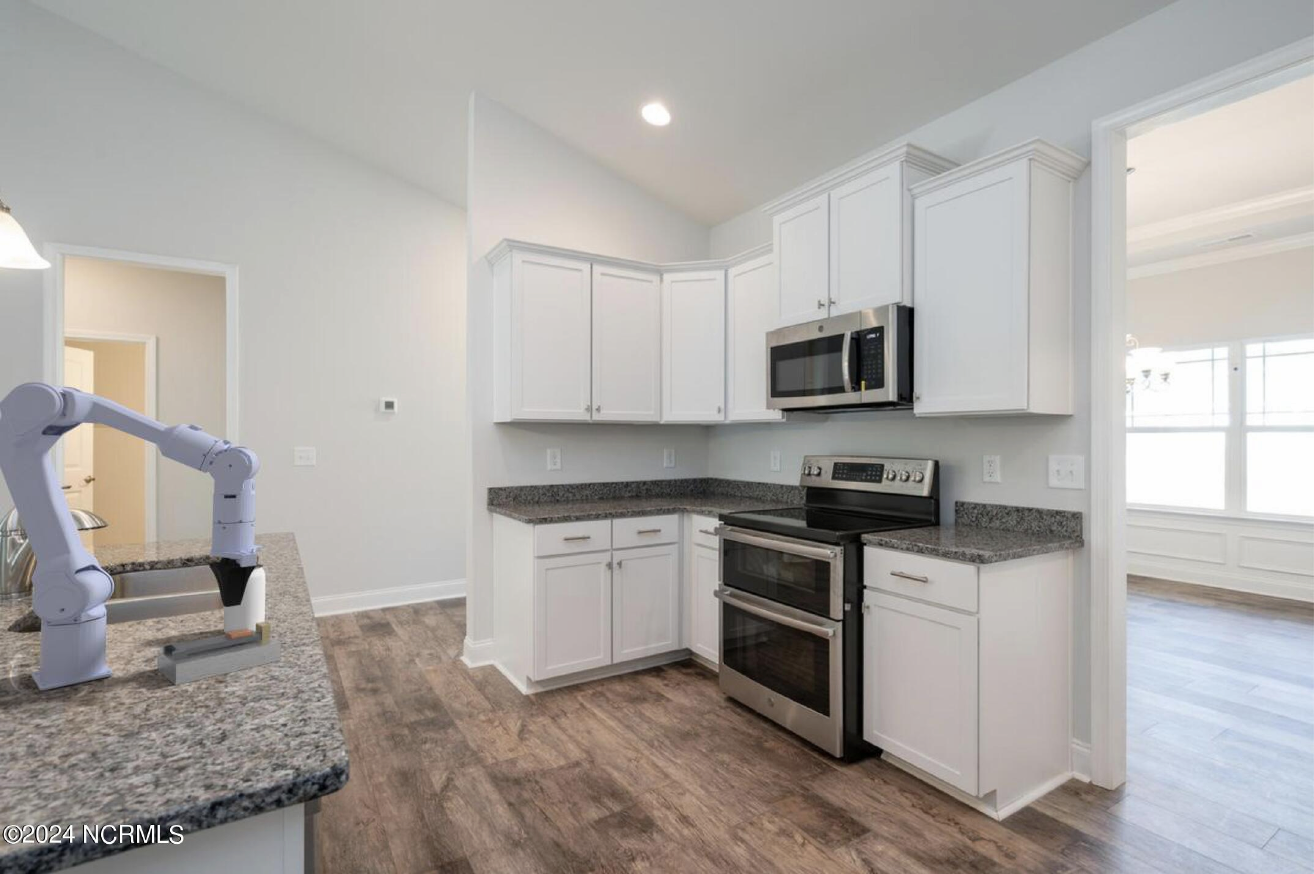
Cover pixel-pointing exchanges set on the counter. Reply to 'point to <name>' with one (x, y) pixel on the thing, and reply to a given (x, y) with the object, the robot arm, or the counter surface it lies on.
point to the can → (248, 604)
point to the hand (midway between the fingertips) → (232, 605)
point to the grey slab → (218, 641)
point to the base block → (218, 658)
